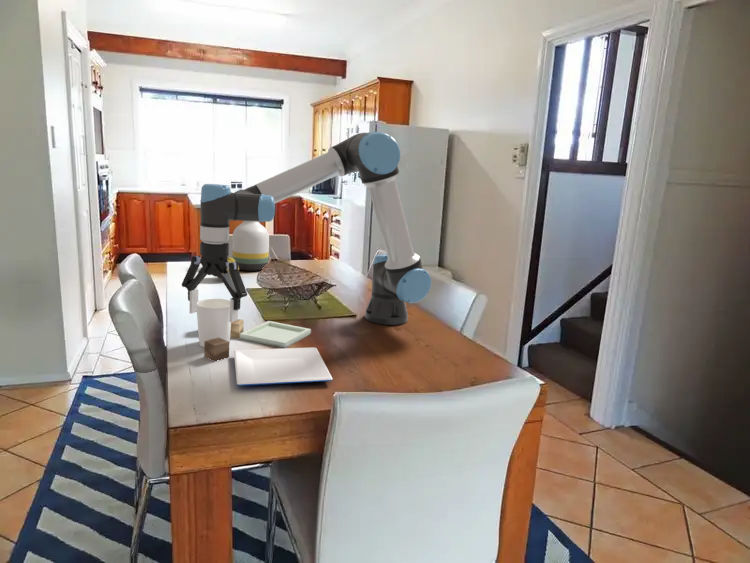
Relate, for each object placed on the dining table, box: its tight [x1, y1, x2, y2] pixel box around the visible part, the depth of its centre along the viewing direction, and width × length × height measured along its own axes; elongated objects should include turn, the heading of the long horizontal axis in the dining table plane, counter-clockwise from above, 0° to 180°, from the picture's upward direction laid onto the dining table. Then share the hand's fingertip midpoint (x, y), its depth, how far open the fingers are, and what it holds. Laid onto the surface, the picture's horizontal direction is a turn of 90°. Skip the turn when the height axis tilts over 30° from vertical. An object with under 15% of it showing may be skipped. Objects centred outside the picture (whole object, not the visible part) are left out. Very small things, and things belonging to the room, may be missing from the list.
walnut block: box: [203, 338, 230, 362], centre depth 138 cm, size 4×4×4 cm
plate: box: [233, 347, 333, 387], centre depth 133 cm, size 22×22×2 cm
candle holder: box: [196, 298, 231, 348], centre depth 147 cm, size 10×10×12 cm
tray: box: [239, 320, 312, 349], centre depth 158 cm, size 15×15×2 cm
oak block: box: [230, 318, 245, 339], centre depth 156 cm, size 4×4×4 cm
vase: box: [231, 221, 270, 272], centre depth 249 cm, size 17×17×24 cm
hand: (213, 316), depth 147 cm, fingers open, 13 cm apart
